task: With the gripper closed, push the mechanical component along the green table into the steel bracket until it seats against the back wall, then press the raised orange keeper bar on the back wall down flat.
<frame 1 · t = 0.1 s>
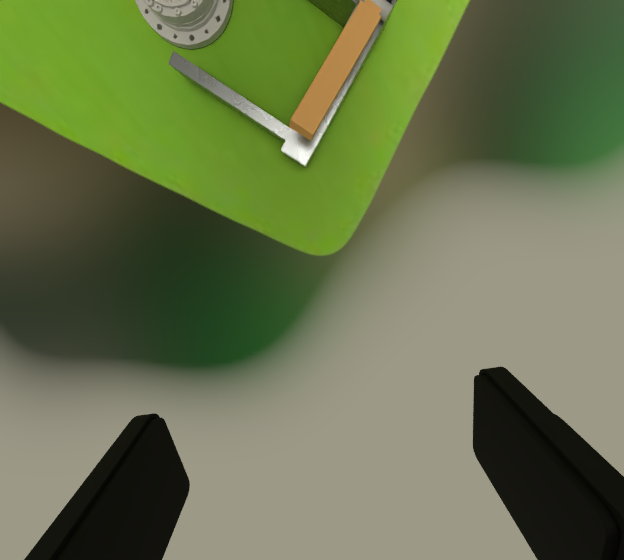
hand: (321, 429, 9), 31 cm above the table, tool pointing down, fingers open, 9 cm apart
bracket: (270, 51, 32), on the table
keeper bar: (340, 63, 25), point 8 cm above the table, hinge at 20.0°
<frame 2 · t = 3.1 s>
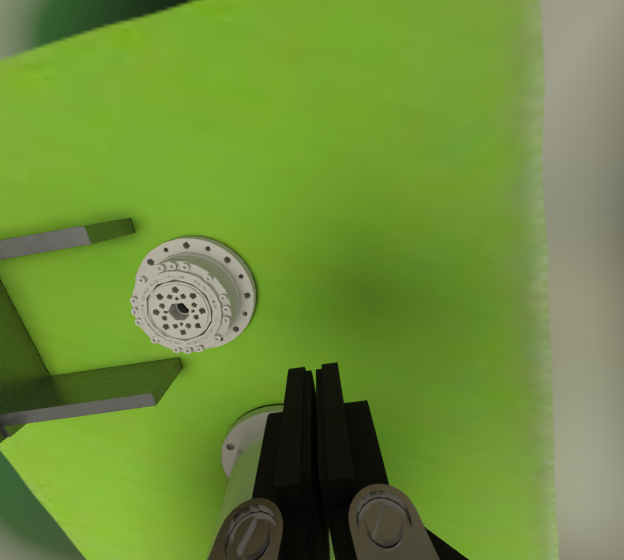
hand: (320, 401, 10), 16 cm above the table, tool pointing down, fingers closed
mechanical component: (201, 290, 26), on the table
bracket: (89, 310, 26), on the table
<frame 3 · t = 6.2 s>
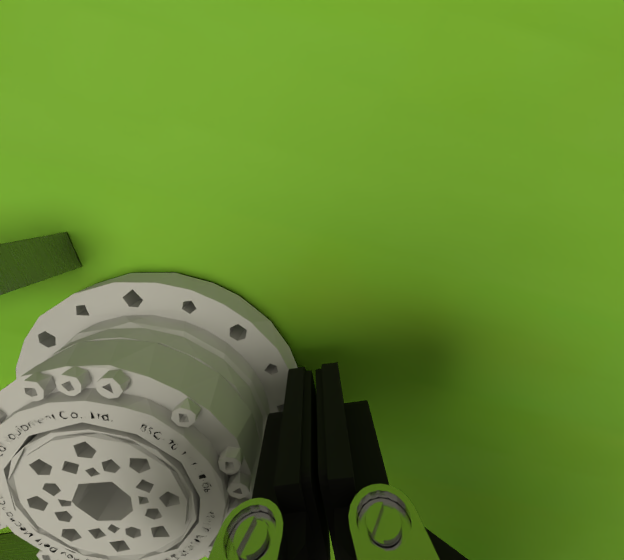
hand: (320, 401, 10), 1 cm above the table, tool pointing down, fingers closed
mechanical component: (181, 384, 12), on the table, touching gripper
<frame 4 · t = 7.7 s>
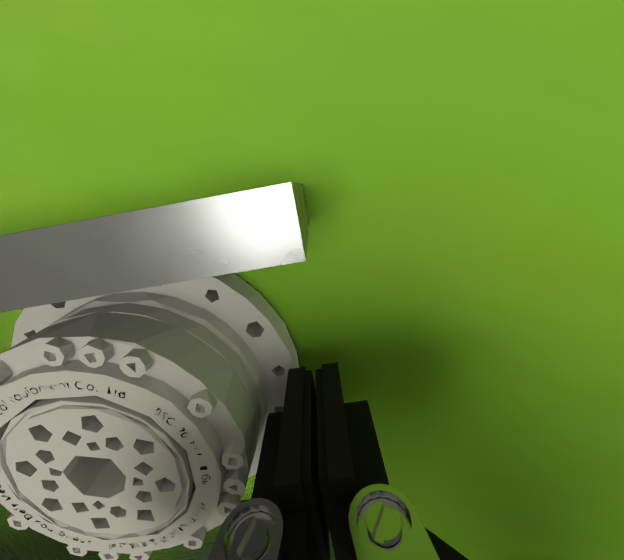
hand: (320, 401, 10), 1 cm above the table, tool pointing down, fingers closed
mechanical component: (177, 367, 12), on the table, touching gripper
bracket: (175, 400, 12), on the table
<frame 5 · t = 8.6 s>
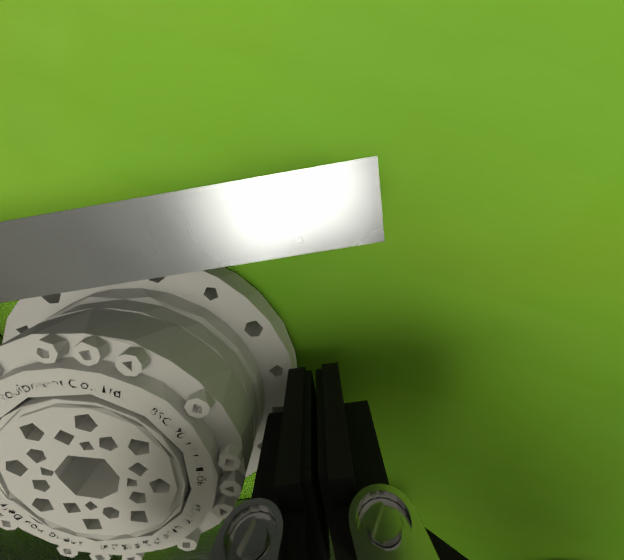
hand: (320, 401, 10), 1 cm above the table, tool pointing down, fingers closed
mechanical component: (173, 365, 11), on the table, touching gripper
bracket: (200, 393, 11), on the table
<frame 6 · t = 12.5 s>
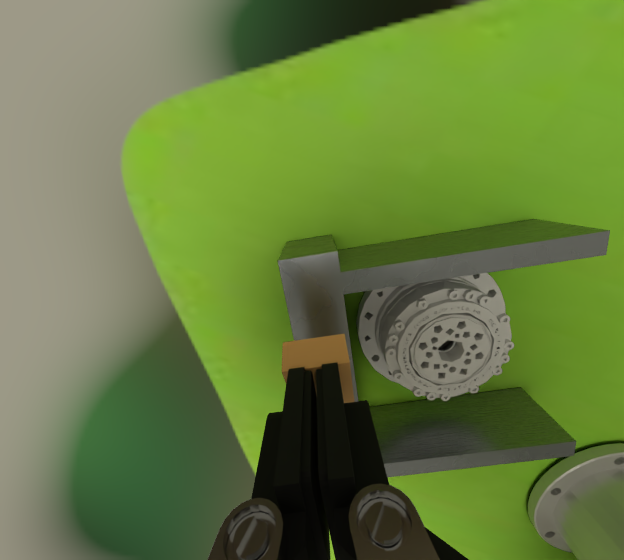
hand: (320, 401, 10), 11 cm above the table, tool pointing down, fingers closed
mechanical component: (422, 317, 21), on the table
bracket: (435, 331, 21), on the table
keeper bar: (336, 442, 14), point 8 cm above the table, hinge at 20.0°, touching gripper
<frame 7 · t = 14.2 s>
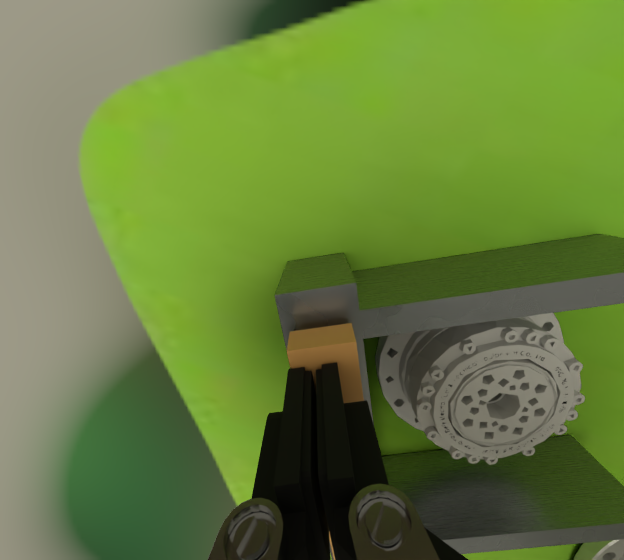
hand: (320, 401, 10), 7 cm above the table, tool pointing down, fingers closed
mechanical component: (456, 351, 17), on the table
bracket: (468, 369, 17), on the table
keeper bar: (346, 483, 12), point 6 cm above the table, hinge at 2.2°, touching gripper
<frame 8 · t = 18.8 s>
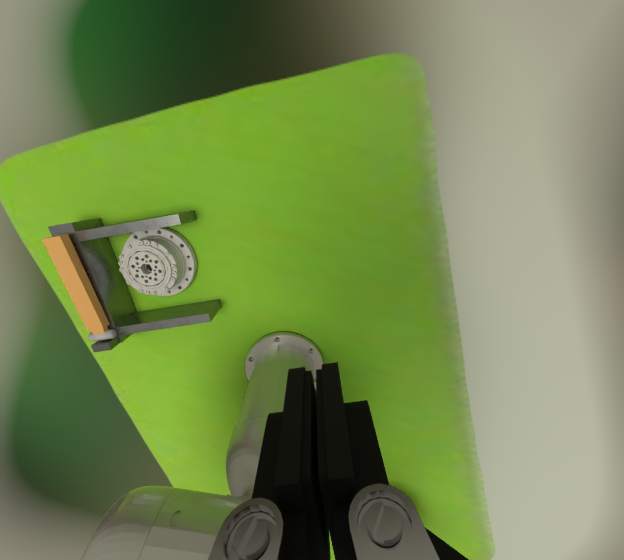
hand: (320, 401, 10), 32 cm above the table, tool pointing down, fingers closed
mechanical component: (163, 260, 42), on the table
bracket: (165, 268, 42), on the table
keeper bar: (81, 291, 36), point 6 cm above the table, hinge at 2.1°
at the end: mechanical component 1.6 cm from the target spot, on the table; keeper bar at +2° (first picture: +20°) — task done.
